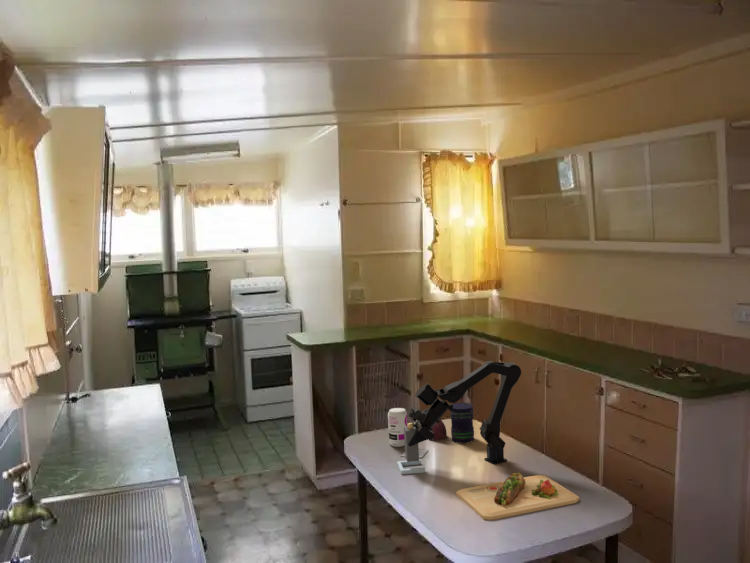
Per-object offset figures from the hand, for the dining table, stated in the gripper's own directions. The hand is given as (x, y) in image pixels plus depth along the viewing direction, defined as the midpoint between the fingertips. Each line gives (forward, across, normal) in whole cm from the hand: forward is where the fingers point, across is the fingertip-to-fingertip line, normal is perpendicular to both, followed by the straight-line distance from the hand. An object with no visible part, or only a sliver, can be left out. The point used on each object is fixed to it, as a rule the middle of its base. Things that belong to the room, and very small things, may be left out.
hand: (408, 443), depth 250 cm
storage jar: (-13, -28, +27) cm, 41 cm away
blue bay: (+6, 0, +8) cm, 10 cm away
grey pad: (+4, -16, +10) cm, 20 cm away
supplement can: (+7, -29, +8) cm, 31 cm away
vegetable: (-6, -34, +20) cm, 40 cm away
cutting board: (-14, +35, +29) cm, 48 cm away
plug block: (+4, 0, +5) cm, 6 cm away
